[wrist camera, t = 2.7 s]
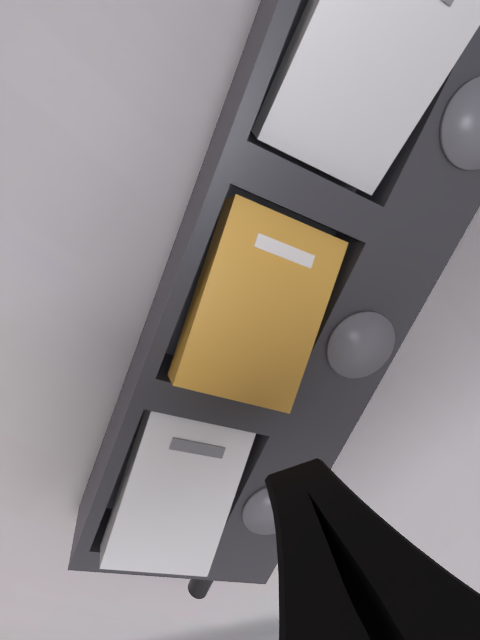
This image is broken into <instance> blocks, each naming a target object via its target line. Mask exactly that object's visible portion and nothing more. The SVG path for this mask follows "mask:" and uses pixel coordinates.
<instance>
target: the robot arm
mask: <svg viewBox="0 0 480 640" xmlns="http://www.w3.org/2000/svg"><path fill="white" fill-rule="evenodd" d="M265 484H266V488H267V492H268V496H269V499H270V503H271V507H272V511H273V516H274V524H275V532H276V544H277V557H278V572H279V640H480V594H479V593H478V592H476V591H475V590H473V589H472V588H470V587H469V586H468V585H466V584H465V583H463V582H462V581H461V580H459V579H458V578H457V577H455V576H454V575H452V574H451V573H450V572H448V571H447V570H446V569H444V568H443V567H442V566H440V565H439V564H438V563H436V562H435V561H434V560H433V559H431V558H430V557H429V556H427V555H426V554H425V553H424V552H422V551H421V550H420V549H418V548H417V547H416V546H415V545H413V544H412V543H411V542H410V541H408V540H407V539H406V538H405V537H404V536H402V535H401V534H400V533H399V532H398V531H396V530H395V529H394V528H393V527H392V526H391V525H389V524H388V523H387V522H386V521H385V520H384V519H382V518H381V517H380V516H379V515H378V514H377V513H375V512H374V511H373V510H372V509H371V508H370V507H369V506H368V505H366V504H365V503H364V502H363V501H362V500H361V499H360V498H359V497H358V496H357V495H356V494H355V493H354V492H353V491H352V490H350V489H349V488H348V487H347V486H346V485H345V484H344V483H343V482H342V481H341V480H340V479H339V478H338V477H337V476H336V475H335V474H334V473H333V472H332V471H331V469H330V468H329V467H328V466H327V465H326V464H325V463H324V462H323V461H322V460H320V459H318V458H316V459H313V460H310V461H307V462H304V463H301V464H299V465H296V466H293V467H290V468H287V469H284V470H281V471H278V472H275V473H272V474H269V475H268V476H267V477H266V479H265Z"/></svg>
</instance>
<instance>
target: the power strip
mask: <svg viewBox="0 0 480 640" xmlns="http://www.w3.org/2000/svg"><path fill="white" fill-rule="evenodd" d="M307 3H308V0H261V3H260V6H259V9H258V11H257V14H256V17H255V20H254V22H253V25H252V28H251V31H250V34H249V36H248V39H247V42H246V45H245V47H244V50H243V53H242V56H241V59H240V61H239V64H238V67H237V70H236V73H235V75H234V78H233V81H232V84H231V86H230V89H229V92H228V95H227V98H226V100H225V103H224V106H223V109H222V111H221V114H220V117H219V120H218V123H217V125H216V128H215V131H214V134H213V136H212V139H211V142H210V145H209V148H208V150H207V153H206V156H205V159H204V162H203V164H202V167H201V170H200V173H199V175H198V178H197V181H196V184H195V187H194V189H193V192H192V195H191V198H190V200H189V203H188V206H187V209H186V212H185V214H184V217H183V220H182V223H181V225H180V228H179V231H178V234H177V237H176V239H175V242H174V245H173V248H172V250H171V253H170V256H169V259H168V262H167V264H166V267H165V270H164V273H163V276H162V278H161V281H160V284H159V287H158V289H157V292H156V295H155V298H154V301H153V303H152V306H151V309H150V312H149V314H148V317H147V320H146V323H145V326H144V328H143V331H142V334H141V337H140V339H139V342H138V345H137V348H136V351H135V353H134V356H133V359H132V362H131V365H130V367H129V370H128V373H127V376H126V378H125V381H124V384H123V387H122V390H121V392H120V395H119V398H118V401H117V403H116V406H115V409H114V412H113V415H112V417H111V420H110V423H109V426H108V428H107V431H106V434H105V437H104V440H103V442H102V445H101V448H100V451H99V454H98V456H97V459H96V462H95V465H94V467H93V470H92V473H91V476H90V479H89V481H88V484H87V487H86V490H85V492H84V495H83V498H82V501H81V504H80V506H79V511H78V517H77V522H76V528H75V533H74V539H73V544H72V550H71V555H70V561H69V566H68V570H75V571H89V572H103V573H117V574H131V575H145V576H159V577H173V578H186V579H191V580H190V582H189V584H188V590H189V593H190V594H191V595H192V596H193V597H194V598H197V599H202V598H204V597H205V596H206V594H207V592H208V590H209V588H210V586H211V584H212V582H213V580H214V581H228V582H242V583H256V584H266V583H267V581H268V579H269V577H270V575H271V574H272V572H273V570H274V568H275V567H276V565H277V563H278V557H277V544H276V532H275V524H274V516H273V511H272V507H271V503H270V499H269V496H268V492H267V488H266V484H265V479H266V477H267V476H268V475H269V474H272V473H275V472H278V471H281V470H284V469H287V468H290V467H293V466H296V465H299V464H301V463H304V462H307V461H310V460H313V459H316V458H318V459H320V460H322V461H323V462H324V463H325V464H326V465H327V466H328V467H329V468H330V469H331V468H332V466H333V464H334V462H335V461H336V459H337V457H338V455H339V454H340V452H341V450H342V448H343V446H344V445H345V443H346V441H347V439H348V438H349V436H350V434H351V432H352V431H353V429H354V427H355V425H356V423H357V422H358V420H359V418H360V416H361V415H362V413H363V411H364V409H365V408H366V406H367V404H368V402H369V400H370V399H371V397H372V395H373V393H374V392H375V390H376V388H377V386H378V385H379V383H380V381H381V379H382V377H383V376H384V374H385V372H386V370H387V369H388V367H389V365H390V363H391V362H392V360H393V358H394V356H395V355H396V353H397V351H398V349H399V347H400V346H401V344H402V342H403V340H404V339H405V337H406V335H407V333H408V332H409V330H410V328H411V326H412V324H413V323H414V321H415V319H416V317H417V316H418V314H419V312H420V310H421V309H422V307H423V305H424V303H425V301H426V300H427V298H428V296H429V294H430V293H431V291H432V289H433V287H434V286H435V284H436V282H437V280H438V279H439V277H440V275H441V273H442V271H443V270H444V268H445V266H446V264H447V263H448V261H449V259H450V257H451V256H452V254H453V252H454V250H455V248H456V247H457V245H458V243H459V241H460V240H461V238H462V236H463V234H464V233H465V231H466V229H467V227H468V225H469V224H470V222H471V220H472V218H473V217H474V215H475V213H476V211H477V210H478V208H479V206H480V25H479V27H478V29H477V30H476V32H475V33H474V35H473V36H472V38H471V40H470V41H469V43H468V44H467V46H466V47H465V49H464V51H463V52H462V54H461V55H460V57H459V59H458V60H457V62H456V63H455V65H454V66H453V68H452V70H451V71H450V73H449V74H448V76H447V77H446V79H445V81H444V82H443V84H442V85H441V87H440V89H439V90H438V92H437V93H436V95H435V96H434V98H433V100H432V101H431V103H430V104H429V106H428V107H427V109H426V111H425V112H424V114H423V115H422V117H421V118H420V120H419V122H418V123H417V125H416V126H415V128H414V130H413V131H412V133H411V134H410V136H409V137H408V139H407V141H406V142H405V144H404V145H403V147H402V148H401V150H400V152H399V153H398V155H397V156H396V158H395V160H394V161H393V163H392V164H391V166H390V167H389V169H388V171H387V172H386V174H385V175H384V177H383V178H382V180H381V182H380V183H379V185H378V186H377V188H376V189H375V191H374V193H373V194H372V195H370V194H368V193H366V192H363V191H361V190H359V189H357V188H355V187H353V186H351V185H349V184H347V183H345V182H343V181H341V180H339V179H337V178H335V177H333V176H331V175H329V174H327V173H325V172H323V171H321V170H319V169H317V168H315V167H313V166H311V165H309V164H307V163H305V162H303V161H301V160H299V159H297V158H295V157H292V156H290V155H288V154H286V153H284V152H282V151H280V150H278V149H276V148H274V147H272V146H270V145H268V144H266V143H264V142H262V141H260V140H258V139H257V138H256V137H255V135H254V134H253V133H252V131H251V130H252V128H253V126H254V123H255V121H256V119H257V117H258V114H259V112H260V110H261V107H262V105H263V103H264V101H265V98H266V96H267V94H268V91H269V89H270V87H271V85H272V82H273V80H274V78H275V76H276V73H277V71H278V69H279V66H280V64H281V62H282V60H283V57H284V55H285V53H286V50H287V48H288V46H289V44H290V41H291V39H292V37H293V34H294V32H295V30H296V28H297V25H298V23H299V21H300V18H301V16H302V14H303V12H304V9H305V7H306V5H307ZM235 194H237V195H239V196H242V197H244V198H246V199H249V200H251V201H253V202H256V203H258V204H260V205H263V206H265V207H267V208H270V209H272V210H274V211H276V212H279V213H281V214H283V215H286V216H288V217H290V218H293V219H295V220H297V221H300V222H302V223H304V224H307V225H309V226H311V227H313V228H316V229H318V230H320V231H323V232H325V233H327V234H330V235H332V236H334V237H337V238H339V239H341V240H344V241H346V242H348V246H347V249H346V252H345V255H344V258H343V261H342V264H341V267H340V270H339V272H338V275H337V278H336V281H335V284H334V287H333V290H332V293H331V296H330V299H329V301H328V304H327V307H326V310H325V313H324V316H323V319H322V322H321V325H320V328H319V331H318V333H317V336H316V339H315V342H314V345H313V348H312V351H311V354H310V357H309V360H308V362H307V365H306V368H305V371H304V374H303V377H302V380H301V383H300V386H299V389H298V392H297V394H296V397H295V400H294V403H293V406H292V409H291V412H290V414H289V413H284V412H280V411H276V410H272V409H268V408H264V407H260V406H255V405H251V404H247V403H243V402H239V401H235V400H230V399H226V398H222V397H218V396H214V395H210V394H205V393H201V392H197V391H193V390H189V389H185V388H180V387H176V386H173V385H172V383H171V381H170V379H169V377H168V375H167V374H168V371H169V368H170V365H171V362H172V359H173V356H174V353H175V350H176V347H177V344H178V341H179V338H180V335H181V332H182V329H183V326H184V323H185V320H186V316H187V313H188V310H189V307H190V304H191V301H192V298H193V295H194V292H195V289H196V286H197V283H198V280H199V277H200V274H201V271H202V268H203V265H204V262H205V259H206V255H207V252H208V249H209V246H210V243H211V240H212V237H213V234H214V231H215V228H216V225H217V222H218V219H219V216H220V213H221V210H222V207H223V204H224V201H225V199H227V198H229V197H231V196H233V195H235ZM144 410H148V411H153V412H158V413H163V414H167V415H172V416H177V417H181V418H186V419H191V420H195V421H200V422H205V423H209V424H214V425H219V426H223V427H228V428H233V429H237V430H242V431H247V432H251V433H256V436H255V438H254V441H253V444H252V447H251V450H250V453H249V456H248V459H247V462H246V465H245V468H244V471H243V474H242V477H241V480H240V482H239V485H238V488H237V491H236V494H235V497H234V500H233V503H232V506H231V509H230V512H229V515H228V518H227V521H226V524H225V526H224V529H223V532H222V535H221V538H220V541H219V544H218V547H217V550H216V553H215V556H214V559H213V562H212V565H211V567H210V570H209V573H208V576H207V577H202V576H188V575H175V574H161V573H148V572H135V571H121V570H108V569H100V545H101V542H102V539H103V536H104V533H105V530H106V527H107V524H108V521H109V518H110V515H111V512H112V508H113V505H114V502H115V499H116V496H117V493H118V490H119V487H120V484H121V481H122V478H123V475H124V472H125V469H126V466H127V463H128V459H129V456H130V453H131V450H132V447H133V444H134V441H135V438H136V435H137V432H138V429H139V426H140V423H141V420H142V417H143V414H144Z"/></svg>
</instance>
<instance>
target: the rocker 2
mask: <svg viewBox="0 0 480 640" xmlns="http://www.w3.org/2000/svg"><path fill="white" fill-rule="evenodd" d="M479 25H480V0H308V3H307V5H306V7H305V9H304V12H303V14H302V16H301V18H300V21H299V23H298V25H297V28H296V30H295V32H294V34H293V37H292V39H291V41H290V44H289V46H288V48H287V50H286V53H285V55H284V57H283V60H282V62H281V64H280V66H279V69H278V71H277V73H276V76H275V78H274V80H273V82H272V85H271V87H270V89H269V91H268V94H267V96H266V98H265V101H264V103H263V105H262V107H261V110H260V112H259V114H258V117H257V119H256V121H255V123H254V126H253V128H252V130H251V131H252V133H253V134H254V135H255V137H256V138H257V139H258V140H260V141H262V142H264V143H266V144H268V145H270V146H272V147H274V148H276V149H278V150H280V151H282V152H284V153H286V154H288V155H290V156H292V157H295V158H297V159H299V160H301V161H303V162H305V163H307V164H309V165H311V166H313V167H315V168H317V169H319V170H321V171H323V172H325V173H327V174H329V175H331V176H333V177H335V178H337V179H339V180H341V181H343V182H345V183H347V184H349V185H351V186H353V187H355V188H357V189H359V190H361V191H363V192H366V193H368V194H370V195H372V194H373V193H374V191H375V189H376V188H377V186H378V185H379V183H380V182H381V180H382V178H383V177H384V175H385V174H386V172H387V171H388V169H389V167H390V166H391V164H392V163H393V161H394V160H395V158H396V156H397V155H398V153H399V152H400V150H401V148H402V147H403V145H404V144H405V142H406V141H407V139H408V137H409V136H410V134H411V133H412V131H413V130H414V128H415V126H416V125H417V123H418V122H419V120H420V118H421V117H422V115H423V114H424V112H425V111H426V109H427V107H428V106H429V104H430V103H431V101H432V100H433V98H434V96H435V95H436V93H437V92H438V90H439V89H440V87H441V85H442V84H443V82H444V81H445V79H446V77H447V76H448V74H449V73H450V71H451V70H452V68H453V66H454V65H455V63H456V62H457V60H458V59H459V57H460V55H461V54H462V52H463V51H464V49H465V47H466V46H467V44H468V43H469V41H470V40H471V38H472V36H473V35H474V33H475V32H476V30H477V29H478V27H479Z"/></svg>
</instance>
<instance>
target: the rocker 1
mask: <svg viewBox="0 0 480 640" xmlns="http://www.w3.org/2000/svg"><path fill="white" fill-rule="evenodd" d="M255 436H256V433H251V432H247V431H242V430H237V429H233V428H228V427H223V426H219V425H214V424H209V423H205V422H200V421H195V420H191V419H186V418H181V417H177V416H172V415H167V414H163V413H158V412H153V411H148V410H144V414H143V417H142V420H141V423H140V426H139V429H138V432H137V435H136V438H135V441H134V444H133V447H132V450H131V453H130V456H129V459H128V463H127V466H126V469H125V472H124V475H123V478H122V481H121V484H120V487H119V490H118V493H117V496H116V499H115V502H114V505H113V508H112V512H111V515H110V518H109V521H108V524H107V527H106V530H105V533H104V536H103V539H102V542H101V545H100V569H108V570H121V571H135V572H148V573H161V574H175V575H188V576H202V577H207V576H208V573H209V570H210V567H211V565H212V562H213V559H214V556H215V553H216V550H217V547H218V544H219V541H220V538H221V535H222V532H223V529H224V526H225V524H226V521H227V518H228V515H229V512H230V509H231V506H232V503H233V500H234V497H235V494H236V491H237V488H238V485H239V482H240V480H241V477H242V474H243V471H244V468H245V465H246V462H247V459H248V456H249V453H250V450H251V447H252V444H253V441H254V438H255Z"/></svg>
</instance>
